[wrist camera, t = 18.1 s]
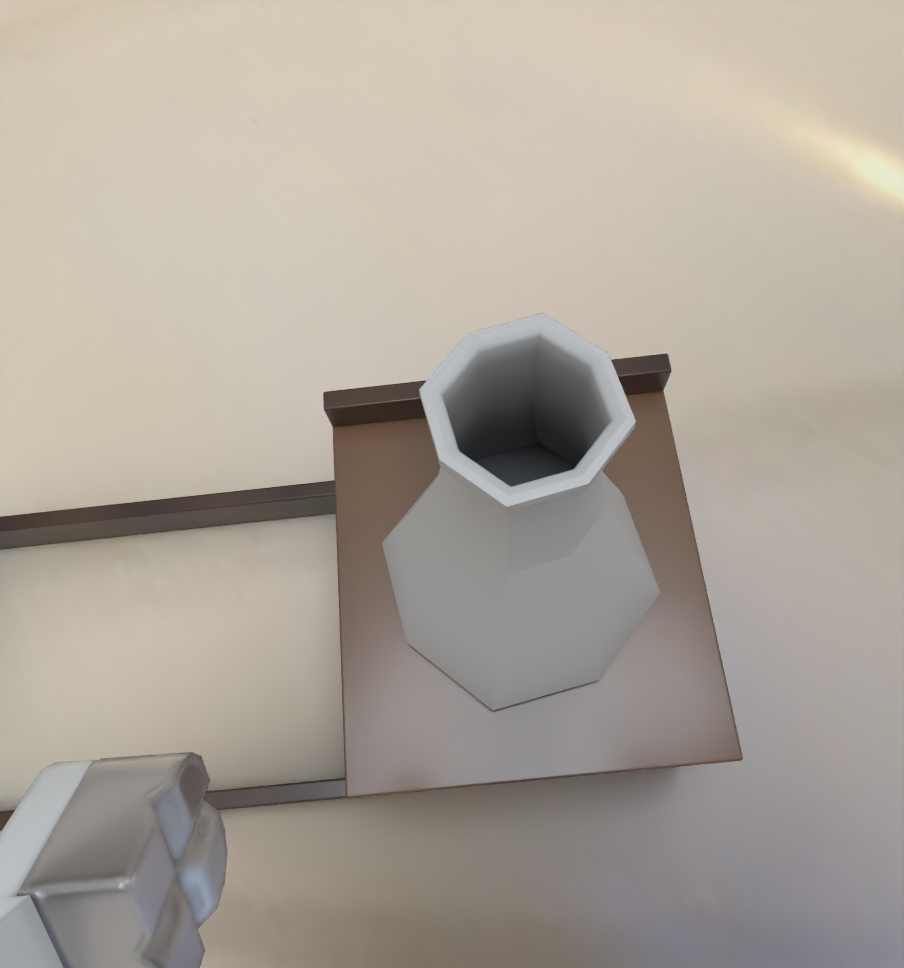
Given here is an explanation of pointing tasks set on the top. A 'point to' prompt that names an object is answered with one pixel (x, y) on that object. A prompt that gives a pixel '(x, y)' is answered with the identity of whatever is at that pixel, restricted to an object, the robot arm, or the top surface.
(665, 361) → the brown block with frame
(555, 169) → the top surface
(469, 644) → the flask
